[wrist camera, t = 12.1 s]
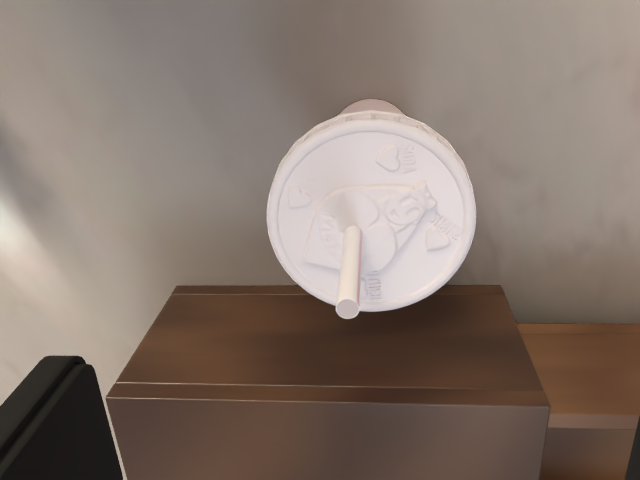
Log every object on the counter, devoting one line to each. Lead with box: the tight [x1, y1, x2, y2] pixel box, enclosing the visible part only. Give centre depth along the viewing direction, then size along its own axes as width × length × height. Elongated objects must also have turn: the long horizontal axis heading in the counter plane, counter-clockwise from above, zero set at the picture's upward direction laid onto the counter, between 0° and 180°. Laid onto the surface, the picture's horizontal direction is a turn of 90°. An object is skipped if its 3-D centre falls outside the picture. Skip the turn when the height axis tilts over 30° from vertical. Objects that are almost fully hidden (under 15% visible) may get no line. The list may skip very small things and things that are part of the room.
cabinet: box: [106, 285, 551, 480], centre depth 28 cm, size 17×15×9 cm
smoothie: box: [267, 99, 476, 319], centre depth 19 cm, size 6×6×14 cm
